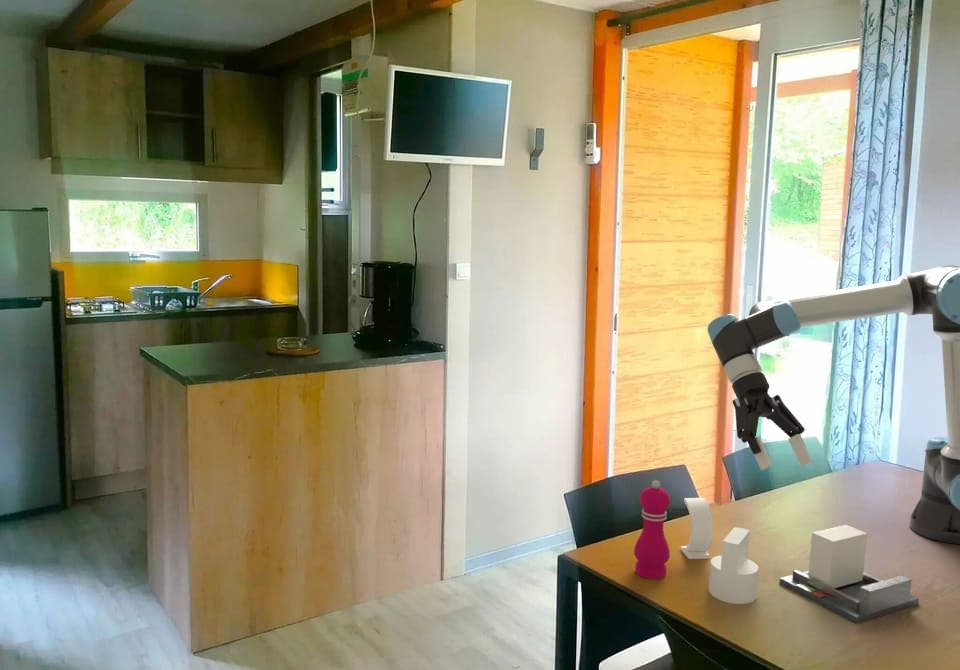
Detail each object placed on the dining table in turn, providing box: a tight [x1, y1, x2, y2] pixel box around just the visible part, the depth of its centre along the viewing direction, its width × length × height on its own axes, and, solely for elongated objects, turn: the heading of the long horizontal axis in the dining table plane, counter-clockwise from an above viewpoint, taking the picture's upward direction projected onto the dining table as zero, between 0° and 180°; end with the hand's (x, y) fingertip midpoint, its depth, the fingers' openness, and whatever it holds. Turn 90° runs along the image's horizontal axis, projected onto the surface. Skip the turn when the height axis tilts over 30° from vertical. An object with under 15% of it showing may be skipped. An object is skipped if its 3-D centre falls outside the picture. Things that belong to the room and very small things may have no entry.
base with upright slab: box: [708, 526, 759, 605], centre depth 159 cm, size 9×9×12 cm
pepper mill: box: [633, 480, 671, 580], centre depth 166 cm, size 7×7×20 cm
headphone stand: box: [680, 497, 714, 560], centre depth 177 cm, size 5×6×12 cm
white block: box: [808, 524, 868, 588], centre depth 163 cm, size 10×6×10 cm, turn 118°
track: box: [779, 569, 920, 625], centre depth 160 cm, size 18×18×6 cm
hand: (787, 465), depth 173 cm, fingers open, 13 cm apart
